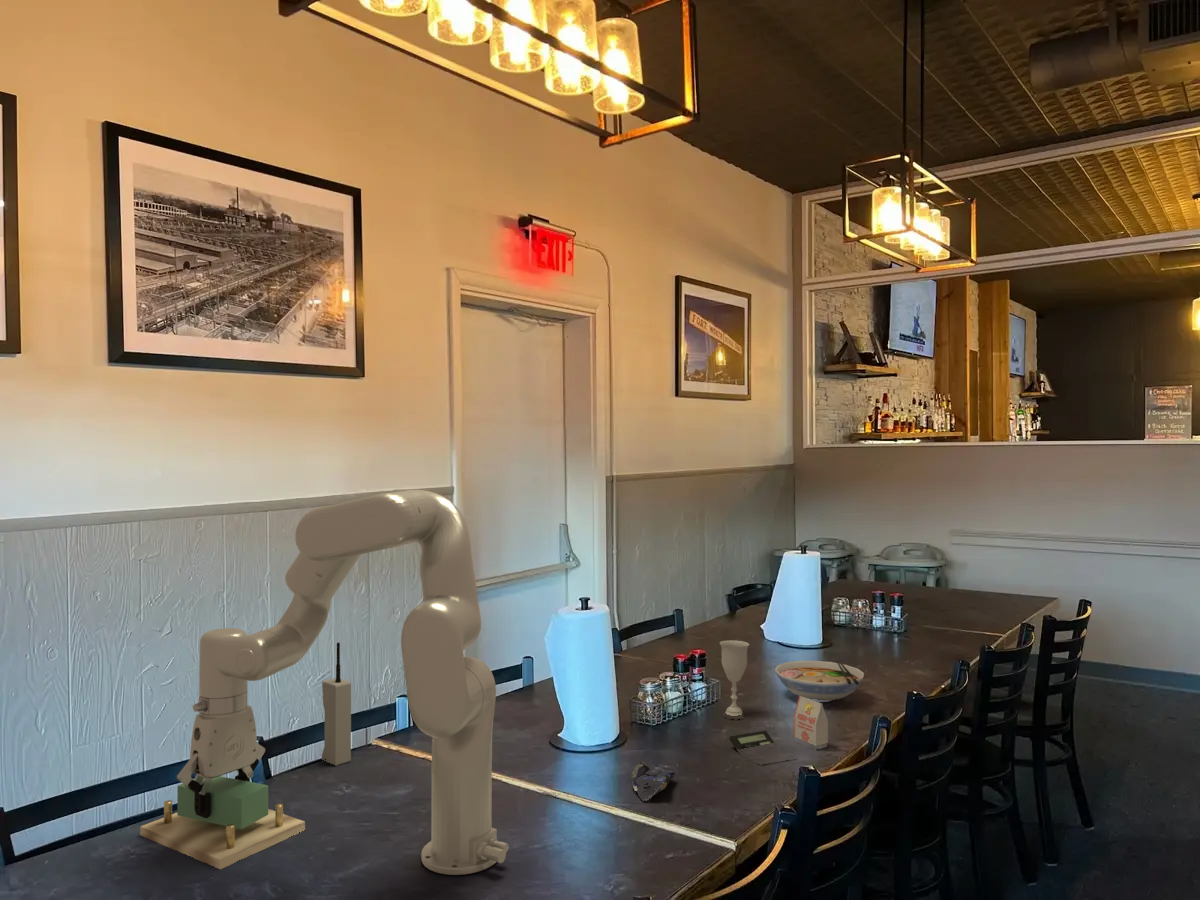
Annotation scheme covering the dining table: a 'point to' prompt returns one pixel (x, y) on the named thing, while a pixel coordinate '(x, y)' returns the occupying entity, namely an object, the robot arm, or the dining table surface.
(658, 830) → the dining table surface
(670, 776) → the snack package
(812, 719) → the paper takeout bag
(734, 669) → the chalice
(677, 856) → the dining table surface
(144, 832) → the chassis plate
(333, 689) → the vintage mobile phone
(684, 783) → the dining table surface
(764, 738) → the calculator
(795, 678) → the ramen bowl
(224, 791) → the olive green box
